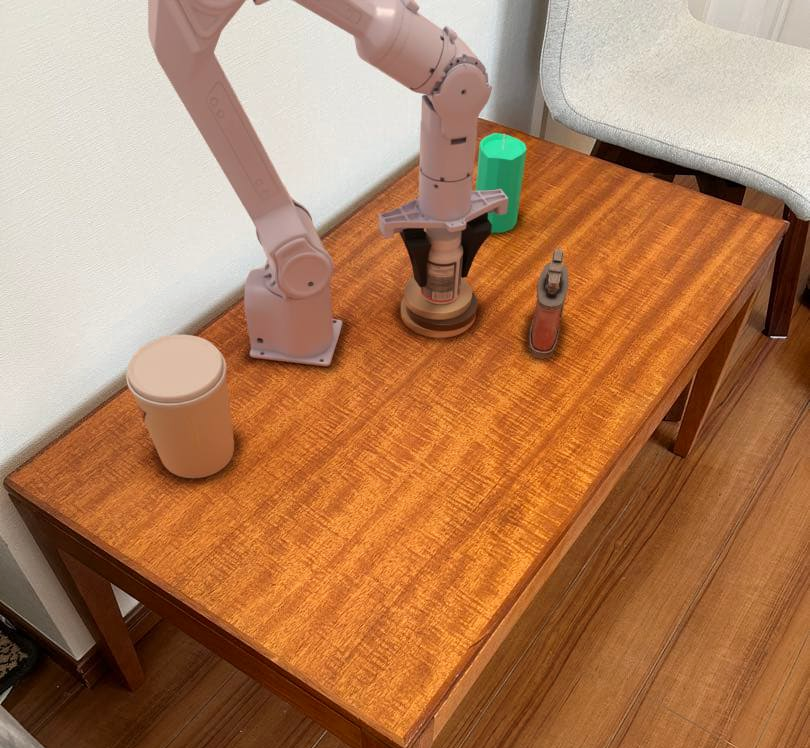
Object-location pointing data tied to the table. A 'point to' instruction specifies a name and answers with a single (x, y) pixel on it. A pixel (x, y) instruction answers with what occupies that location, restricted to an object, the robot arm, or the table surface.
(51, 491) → the table surface
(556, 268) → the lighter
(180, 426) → the coffee cup
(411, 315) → the tan layered disc
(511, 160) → the candle
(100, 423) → the table surface
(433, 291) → the pill bottle
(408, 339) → the table surface
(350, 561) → the table surface
